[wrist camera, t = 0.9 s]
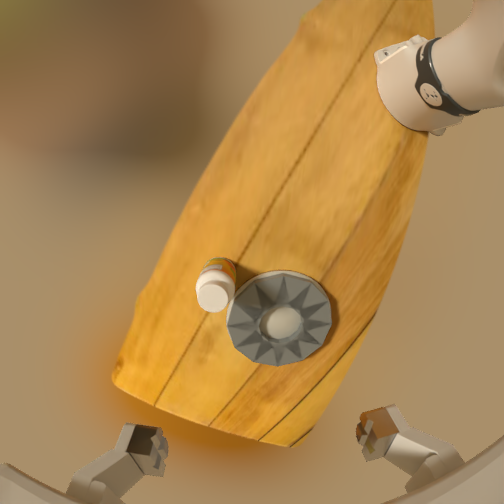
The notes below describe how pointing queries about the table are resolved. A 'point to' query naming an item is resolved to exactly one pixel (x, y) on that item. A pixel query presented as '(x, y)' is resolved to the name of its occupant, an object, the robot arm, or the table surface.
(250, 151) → the table surface
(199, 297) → the supplement bottle
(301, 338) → the grey faceted round plate
